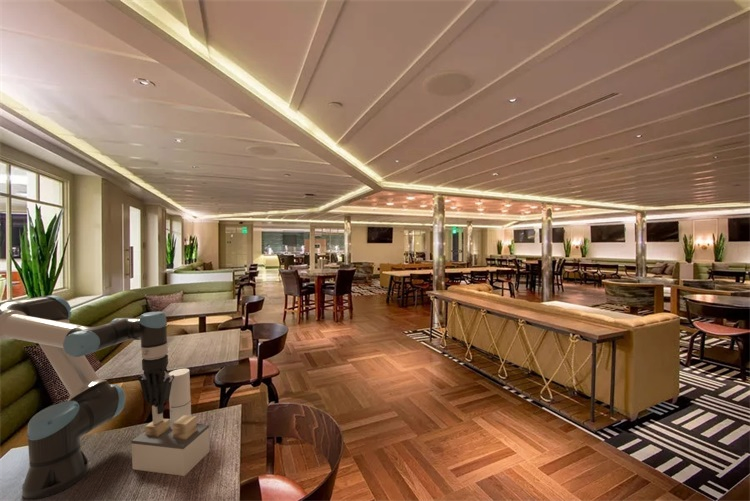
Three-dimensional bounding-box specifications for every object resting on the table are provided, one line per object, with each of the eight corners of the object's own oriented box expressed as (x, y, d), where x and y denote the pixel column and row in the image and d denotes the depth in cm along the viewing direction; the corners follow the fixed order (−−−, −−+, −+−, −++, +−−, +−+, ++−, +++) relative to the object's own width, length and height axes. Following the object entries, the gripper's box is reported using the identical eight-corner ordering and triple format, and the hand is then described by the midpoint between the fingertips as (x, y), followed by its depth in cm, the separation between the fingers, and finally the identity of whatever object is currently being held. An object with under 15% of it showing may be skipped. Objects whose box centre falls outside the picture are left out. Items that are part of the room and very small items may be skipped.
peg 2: (173, 446, 107) (172, 423, 106) (184, 437, 112) (183, 415, 111) (186, 447, 106) (185, 424, 106) (197, 438, 111) (196, 416, 111)
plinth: (132, 469, 106) (131, 440, 105) (162, 446, 118) (161, 420, 117) (184, 476, 102) (183, 446, 102) (209, 451, 114) (208, 424, 114)
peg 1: (146, 448, 109) (145, 426, 108) (158, 439, 114) (157, 417, 113) (158, 449, 108) (157, 427, 108) (170, 440, 113) (169, 419, 112)
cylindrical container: (181, 439, 121) (179, 376, 120) (166, 437, 123) (163, 375, 122) (195, 428, 128) (193, 369, 127) (181, 427, 130) (178, 367, 129)
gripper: (129, 359, 107) (132, 426, 108) (162, 361, 105) (165, 429, 106) (148, 351, 114) (151, 414, 115) (179, 353, 112) (182, 417, 113)
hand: (158, 421), depth 110 cm, fingers closed
